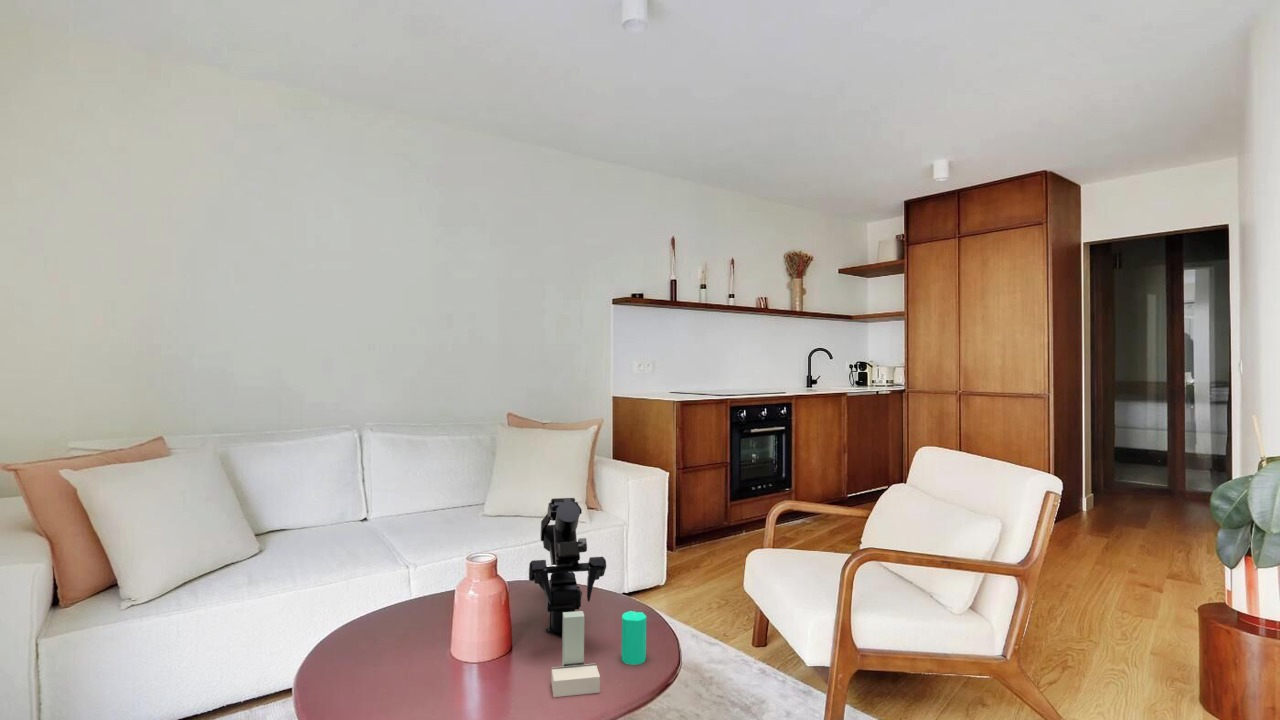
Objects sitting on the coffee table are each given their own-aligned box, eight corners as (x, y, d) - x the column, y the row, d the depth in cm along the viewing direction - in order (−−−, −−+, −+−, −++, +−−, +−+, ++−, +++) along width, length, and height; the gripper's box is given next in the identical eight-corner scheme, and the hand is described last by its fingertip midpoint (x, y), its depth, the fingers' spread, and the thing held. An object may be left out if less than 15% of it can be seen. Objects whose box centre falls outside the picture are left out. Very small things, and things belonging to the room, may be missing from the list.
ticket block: (551, 683, 145) (551, 667, 145) (595, 678, 147) (595, 663, 147) (553, 697, 139) (553, 680, 139) (599, 692, 141) (600, 676, 141)
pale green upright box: (561, 672, 149) (562, 612, 148) (581, 670, 150) (582, 610, 149) (563, 679, 146) (564, 617, 145) (583, 677, 147) (584, 616, 146)
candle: (643, 666, 153) (644, 615, 153) (618, 663, 154) (619, 613, 154) (648, 654, 159) (649, 606, 159) (624, 651, 160) (625, 603, 160)
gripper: (529, 528, 158) (531, 590, 147) (605, 524, 162) (612, 584, 151) (528, 550, 166) (529, 610, 155) (600, 546, 170) (606, 604, 159)
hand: (569, 602), depth 155 cm, fingers open, 9 cm apart
